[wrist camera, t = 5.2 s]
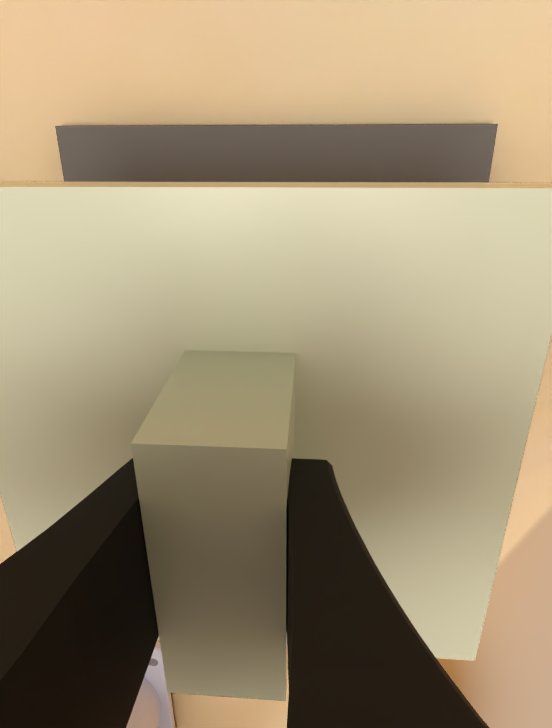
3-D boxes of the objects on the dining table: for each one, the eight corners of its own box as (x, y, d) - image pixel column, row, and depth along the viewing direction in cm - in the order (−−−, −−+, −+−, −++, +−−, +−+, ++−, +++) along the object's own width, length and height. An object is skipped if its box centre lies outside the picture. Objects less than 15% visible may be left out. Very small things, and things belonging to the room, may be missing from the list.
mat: (437, 484, 19) (439, 491, 19) (117, 471, 20) (113, 478, 19) (493, 124, 14) (498, 123, 14) (61, 126, 15) (54, 126, 14)
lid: (462, 616, 13) (519, 814, 10) (61, 593, 14) (-34, 767, 10) (552, 180, 9) (729, 223, 5) (-42, 179, 10) (-281, 217, 6)
